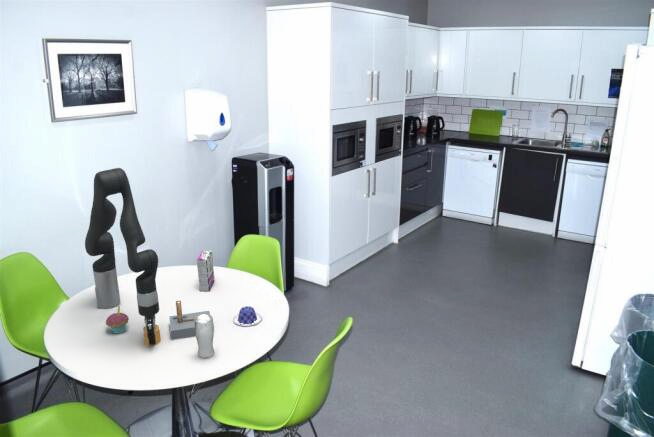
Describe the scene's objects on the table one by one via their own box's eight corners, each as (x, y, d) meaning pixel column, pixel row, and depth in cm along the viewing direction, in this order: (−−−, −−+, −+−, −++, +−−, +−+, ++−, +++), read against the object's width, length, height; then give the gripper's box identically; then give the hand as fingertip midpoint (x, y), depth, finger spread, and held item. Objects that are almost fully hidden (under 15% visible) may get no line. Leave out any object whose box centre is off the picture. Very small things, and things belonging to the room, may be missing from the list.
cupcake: (134, 326, 213) (131, 300, 209) (120, 337, 206) (116, 310, 202) (117, 323, 216) (113, 297, 212) (102, 333, 208) (98, 306, 204)
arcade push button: (144, 346, 199) (142, 331, 197) (144, 338, 204) (142, 323, 202) (160, 344, 201) (158, 328, 199) (160, 336, 206) (158, 321, 204)
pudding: (227, 320, 219) (226, 309, 217) (249, 310, 227) (249, 299, 226) (245, 330, 211) (244, 319, 210) (267, 319, 220) (267, 308, 218)
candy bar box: (204, 281, 254) (202, 250, 249) (214, 281, 254) (212, 250, 249) (198, 291, 244) (196, 259, 238) (209, 291, 244) (207, 259, 238)
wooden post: (177, 323, 208) (175, 303, 205) (177, 321, 210) (175, 301, 207) (183, 322, 209) (181, 302, 206) (182, 320, 210) (180, 300, 208)
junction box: (171, 339, 204) (170, 328, 202) (170, 324, 215) (169, 314, 213) (212, 333, 209) (212, 322, 207) (209, 319, 219) (209, 308, 218)
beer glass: (198, 349, 198) (195, 314, 193) (216, 348, 198) (214, 313, 194) (195, 359, 191) (192, 323, 186) (214, 358, 192) (211, 322, 187)
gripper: (137, 294, 203) (142, 332, 208) (136, 311, 190) (142, 351, 195) (158, 291, 205) (162, 329, 210) (158, 308, 192) (162, 348, 197)
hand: (152, 339), depth 202 cm, fingers closed on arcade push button, 5 cm apart
